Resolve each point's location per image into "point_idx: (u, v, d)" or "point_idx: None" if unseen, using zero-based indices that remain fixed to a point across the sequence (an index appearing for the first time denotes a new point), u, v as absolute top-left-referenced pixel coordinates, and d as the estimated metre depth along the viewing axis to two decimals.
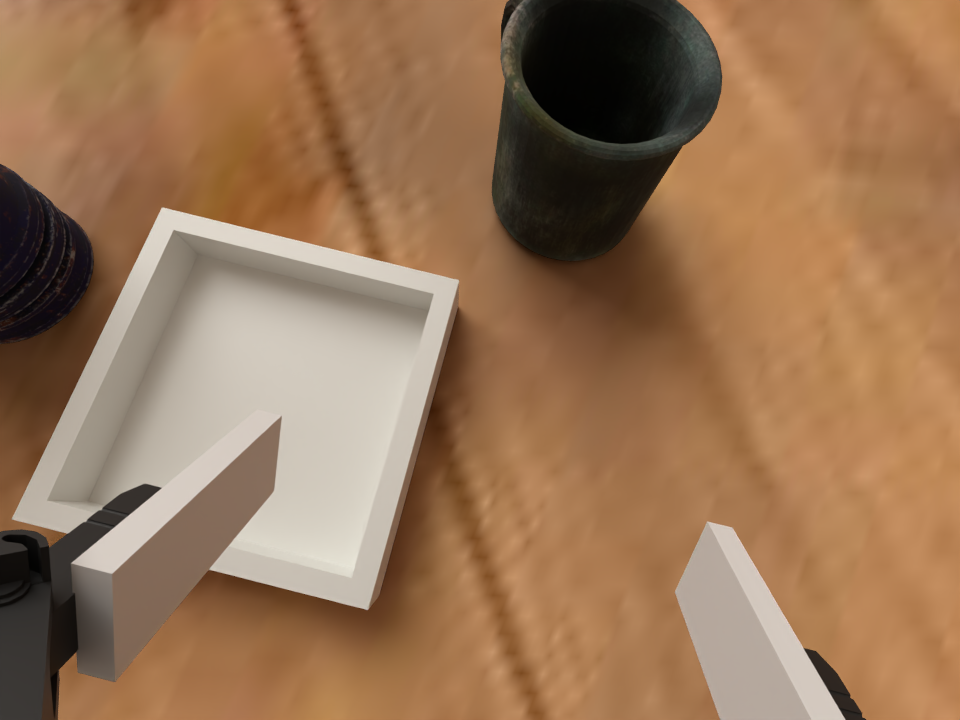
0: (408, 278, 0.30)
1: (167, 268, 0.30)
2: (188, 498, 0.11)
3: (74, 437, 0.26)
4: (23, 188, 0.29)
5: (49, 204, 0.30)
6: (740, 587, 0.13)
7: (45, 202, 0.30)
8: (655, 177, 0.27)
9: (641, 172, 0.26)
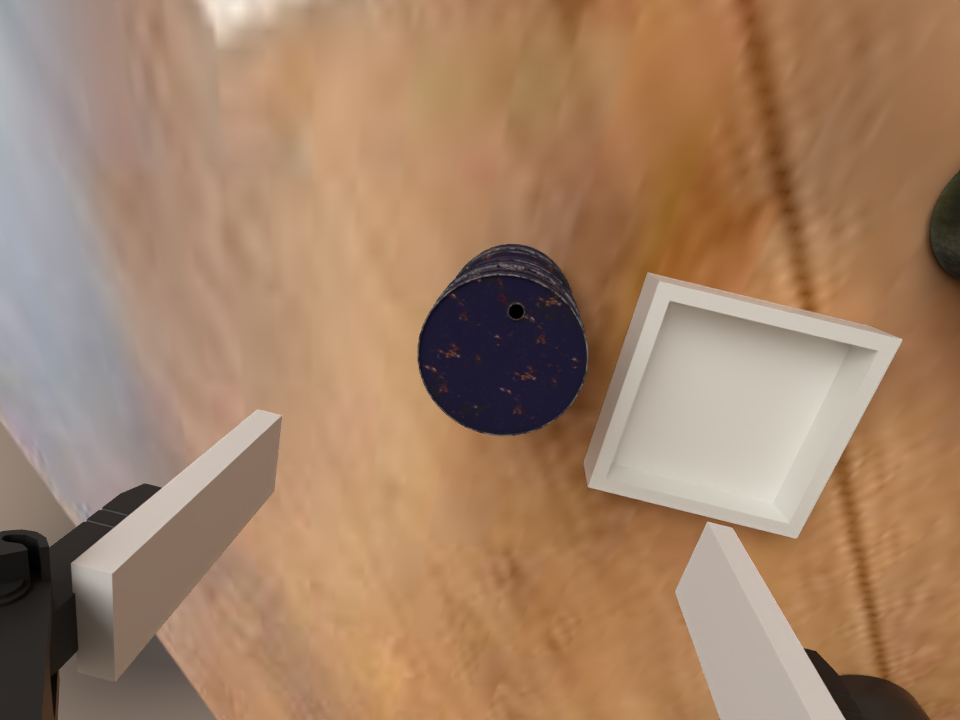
0: (859, 338, 0.37)
1: None
2: (188, 498, 0.11)
3: (616, 445, 0.42)
4: (564, 280, 0.37)
5: (562, 273, 0.38)
6: (740, 587, 0.13)
7: (562, 275, 0.38)
8: None
9: None
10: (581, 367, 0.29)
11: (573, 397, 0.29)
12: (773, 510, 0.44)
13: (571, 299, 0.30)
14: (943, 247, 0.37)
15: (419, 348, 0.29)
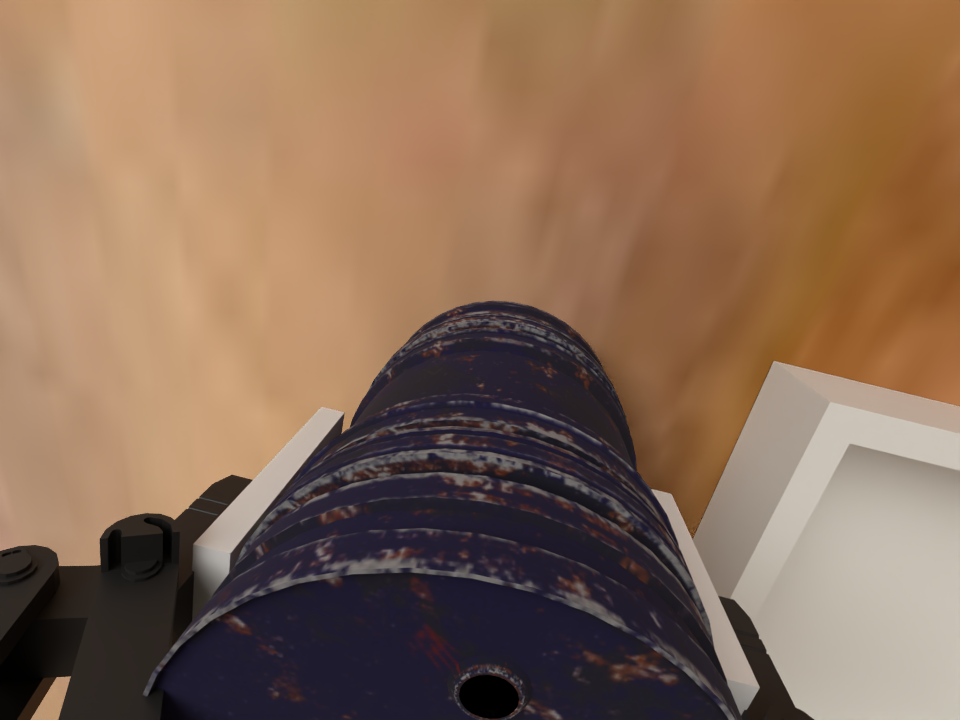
0: None
1: None
2: (279, 487, 0.12)
3: None
4: (616, 405, 0.16)
5: (605, 376, 0.17)
6: None
7: (607, 382, 0.17)
8: None
9: None
10: None
11: None
12: None
13: (679, 563, 0.09)
14: None
15: None
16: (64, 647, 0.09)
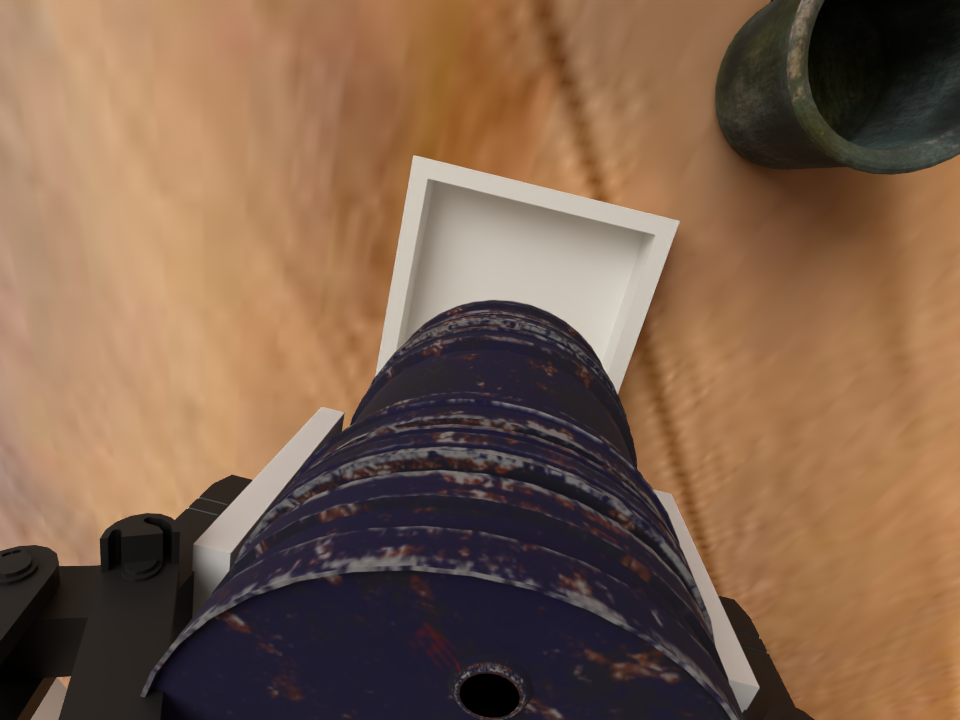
0: (633, 220, 0.34)
1: (424, 209, 0.36)
2: (279, 487, 0.12)
3: (394, 349, 0.38)
4: (616, 404, 0.16)
5: (605, 375, 0.17)
6: None
7: (607, 381, 0.17)
8: None
9: None
10: None
11: None
12: None
13: (681, 562, 0.09)
14: (724, 119, 0.33)
15: None
16: (64, 647, 0.09)
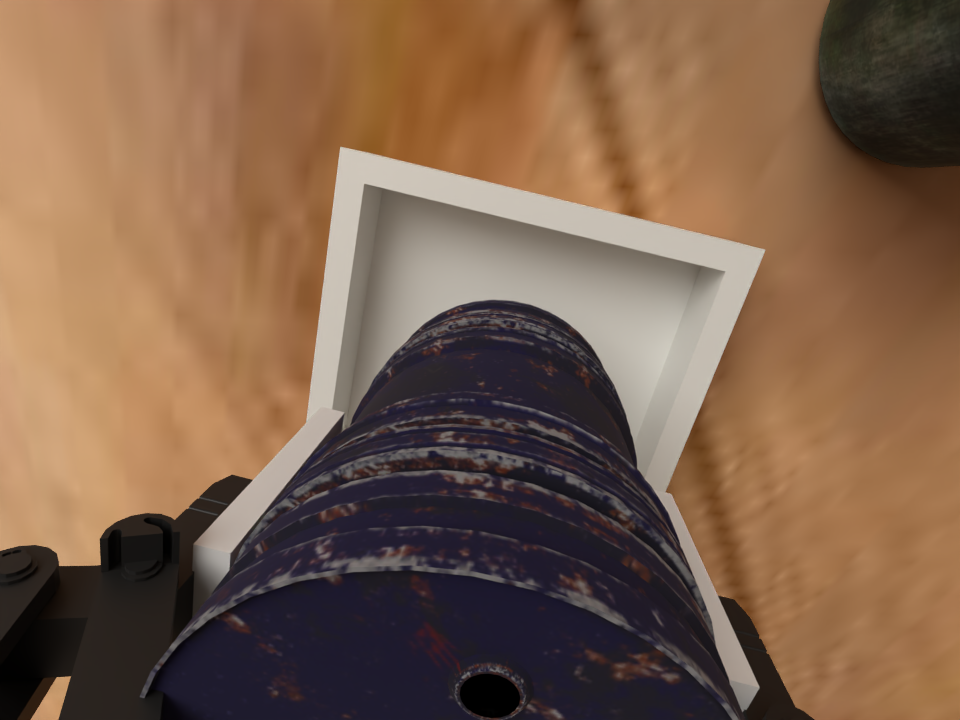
0: (690, 248, 0.21)
1: (363, 231, 0.23)
2: (279, 487, 0.12)
3: None
4: (616, 404, 0.16)
5: (606, 375, 0.17)
6: None
7: (608, 381, 0.17)
8: None
9: None
10: None
11: None
12: None
13: (681, 561, 0.09)
14: (837, 86, 0.21)
15: None
16: (64, 647, 0.09)
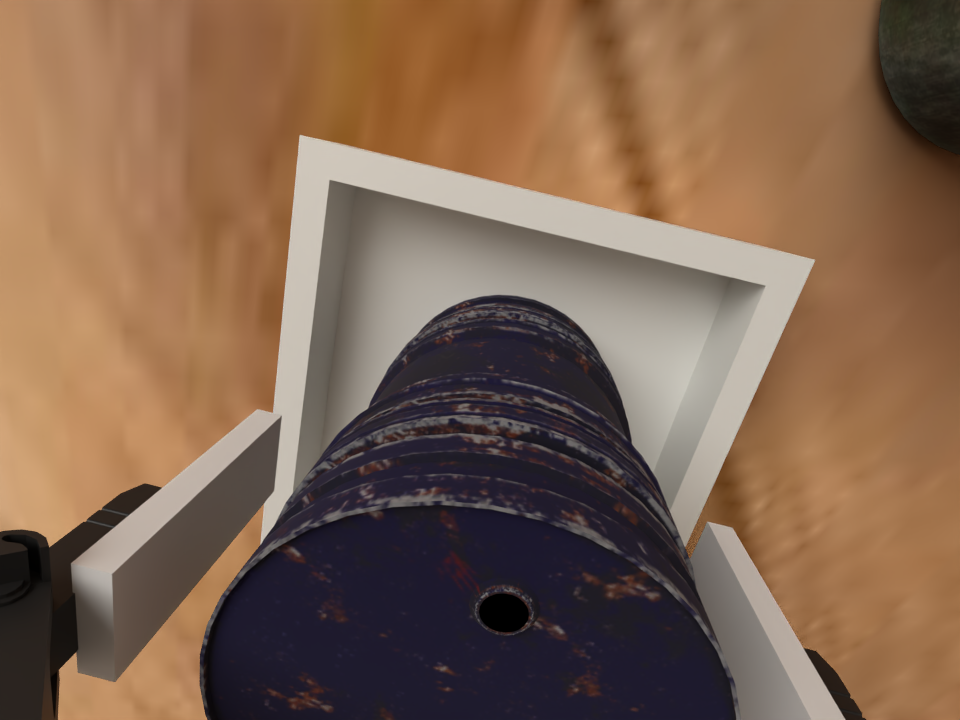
0: (724, 258, 0.17)
1: (331, 236, 0.19)
2: (188, 498, 0.11)
3: (292, 476, 0.22)
4: (612, 389, 0.17)
5: (603, 364, 0.19)
6: (740, 587, 0.13)
7: (605, 369, 0.18)
8: None
9: None
10: None
11: None
12: None
13: (666, 515, 0.10)
14: (903, 61, 0.17)
15: (207, 683, 0.09)
16: None
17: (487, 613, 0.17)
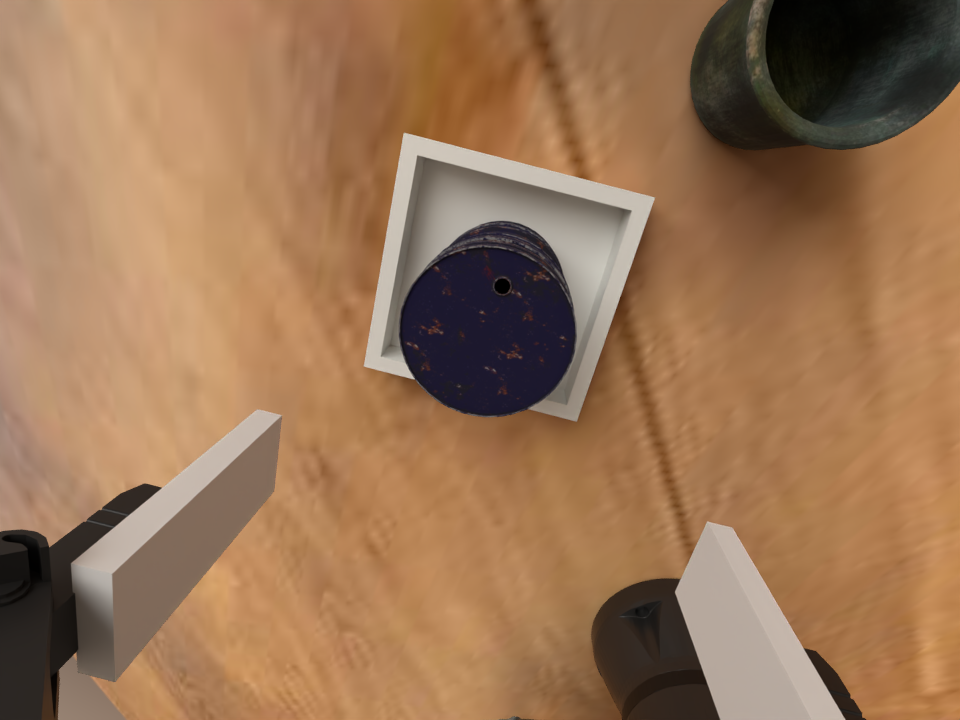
0: (611, 196, 0.36)
1: (414, 185, 0.37)
2: (188, 498, 0.11)
3: (386, 319, 0.40)
4: (555, 258, 0.35)
5: (553, 251, 0.37)
6: (740, 587, 0.13)
7: (553, 253, 0.37)
8: None
9: None
10: (569, 346, 0.27)
11: (560, 377, 0.28)
12: (559, 395, 0.43)
13: (561, 275, 0.29)
14: (698, 101, 0.35)
15: (400, 324, 0.28)
16: None
17: None
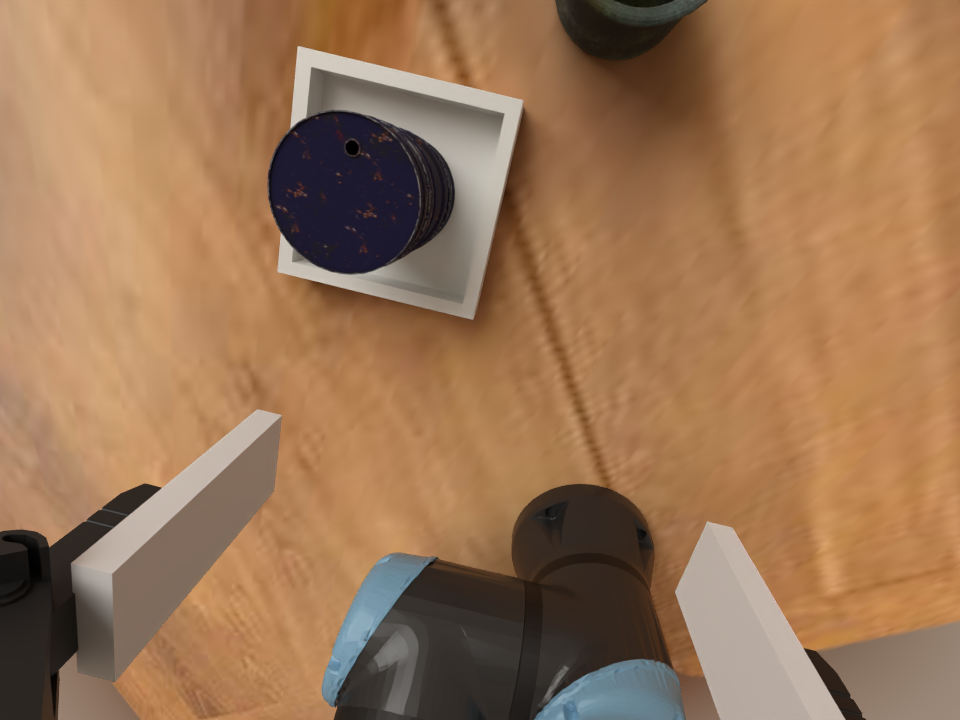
0: (485, 100, 0.40)
1: (312, 97, 0.42)
2: (188, 498, 0.11)
3: None
4: (433, 155, 0.39)
5: (437, 154, 0.41)
6: (740, 587, 0.13)
7: (437, 154, 0.41)
8: None
9: None
10: (416, 203, 0.31)
11: (411, 234, 0.32)
12: (459, 298, 0.47)
13: (413, 147, 0.32)
14: (560, 13, 0.39)
15: (269, 187, 0.32)
16: None
17: None
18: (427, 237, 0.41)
